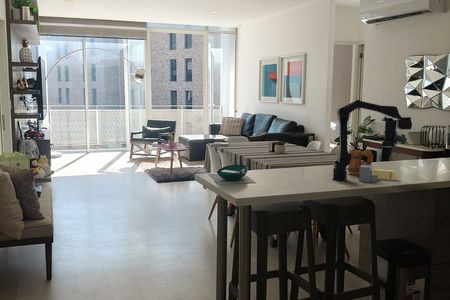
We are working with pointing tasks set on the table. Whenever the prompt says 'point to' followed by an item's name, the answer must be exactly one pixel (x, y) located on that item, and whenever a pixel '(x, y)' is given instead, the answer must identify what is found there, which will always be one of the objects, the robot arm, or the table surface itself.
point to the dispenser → (367, 174)
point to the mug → (358, 160)
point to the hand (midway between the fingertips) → (388, 158)
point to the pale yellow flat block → (385, 174)
